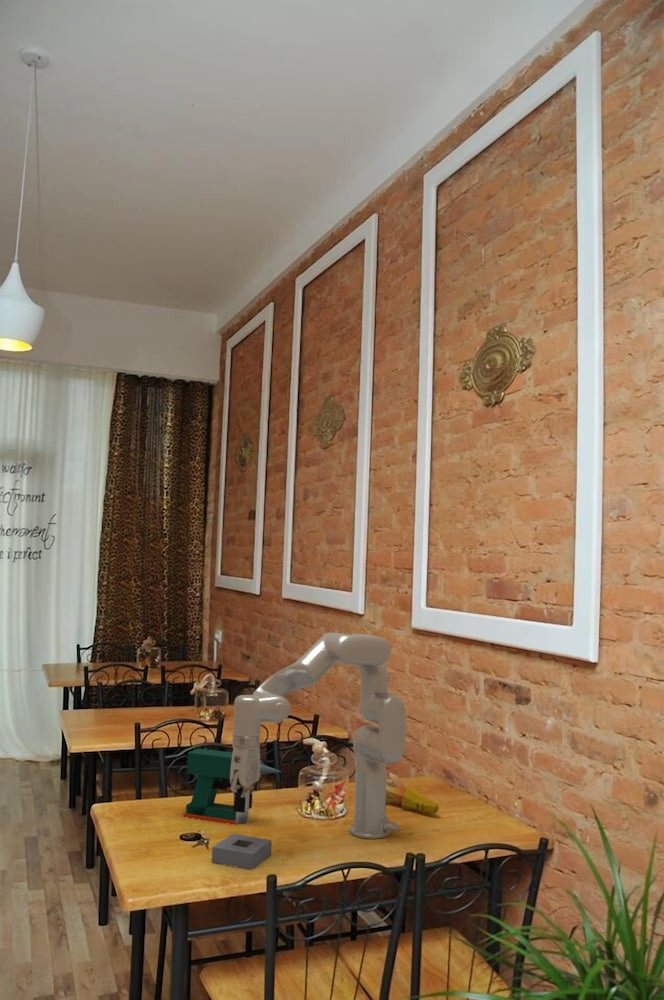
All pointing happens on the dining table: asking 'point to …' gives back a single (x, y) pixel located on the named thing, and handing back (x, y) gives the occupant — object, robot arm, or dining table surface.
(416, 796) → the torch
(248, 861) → the block
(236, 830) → the dining table surface
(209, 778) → the power tool
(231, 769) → the robot arm
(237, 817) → the copper capped vial
